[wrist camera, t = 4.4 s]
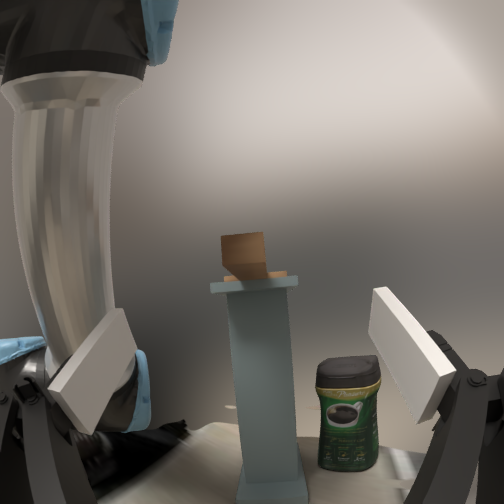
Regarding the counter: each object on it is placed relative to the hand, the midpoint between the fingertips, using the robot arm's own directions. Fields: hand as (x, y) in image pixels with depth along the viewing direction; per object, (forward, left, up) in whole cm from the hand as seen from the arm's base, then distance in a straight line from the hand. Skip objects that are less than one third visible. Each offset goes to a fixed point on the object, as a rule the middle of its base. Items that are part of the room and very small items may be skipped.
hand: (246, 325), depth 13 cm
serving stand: (0, +22, -26) cm, 34 cm away
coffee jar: (+12, +24, -27) cm, 38 cm away
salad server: (0, +17, +4) cm, 17 cm away
